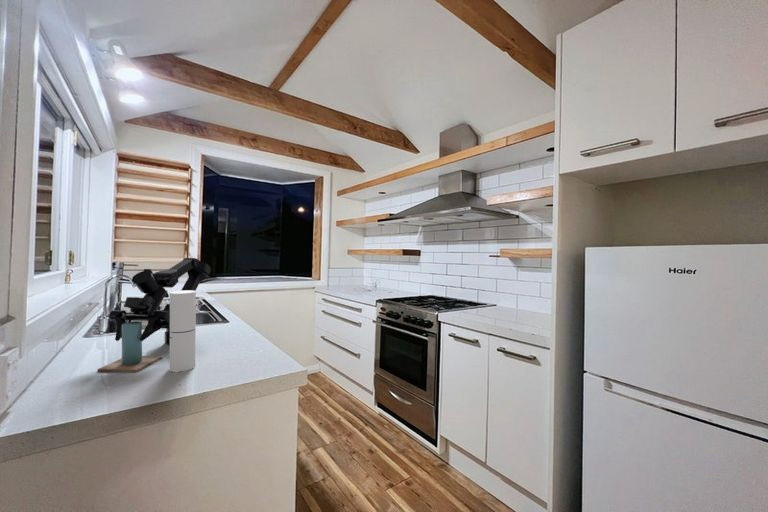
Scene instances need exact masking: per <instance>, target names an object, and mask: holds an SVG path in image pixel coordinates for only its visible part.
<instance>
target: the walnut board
mask: <svg viewBox="0 0 768 512" xmlns="http://www.w3.org/2000/svg"><path fill="white" fill-rule="evenodd" d="M162 359H163V355H142V361H141V362H140V363H137V364H133V365H122V357H121V358H120V359H117V360H115V361H113V362H111V363H110V362H109V364H106V365H104V366H102V367H99V368H97V373H138V371H139V372H140V371H143V370H144V369H146V368H148V367H150V366H152V365H153V364H154V362H155V363H157V362H159V361H160V360H162ZM158 360H159V361H158ZM156 361H157V362H156ZM147 366H148V367H147Z"/></svg>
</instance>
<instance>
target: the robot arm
mask: <svg viewBox="0 0 768 512" xmlns="http://www.w3.org/2000/svg"><path fill="white" fill-rule="evenodd" d="M211 270H212V268H211V266H210V265H209V264H208V263H206V262H204V261H202V260H199V258H196V257H185V258H184V257H183V259H182V260H181V261H180V262H178V263H177V264H175V265H173V266H171V267H170V268H168V269H164V270H159V271H156V272H153V271H152V269H150V268H144V269H143V270H142V271H140V272H138V273H136V274H135V275H133V276H132V278H131V282H132V283H133V284H134V285H135V286H136V288H137V289H138V290H139V291H140V292H141V293H142V294H144V296H143V297H140V296H139V297H137V296H134V297H133V296H127V297H126V299H125V302H124V304H123V307H124V308H128V309H129V311H130V312H131V314H129V313H128V312H127V311H126V310H124V309H123V310H120V309H117V310H116V309H114V310H111V311H110V312H109V314H108V315H107V317H108V319H110V320H111V321H112V322H113V323H114V324H115V325H116V331H115V336H114V337H115V339H114V340H115V341H116V342H118V341H120V340H122V324H124V323H128V322H132V321H138V322H142V321H144V322H145V321H147V324H146V326H145V328H144V330H142V335H141V337H140V341H142V342H144V341H145V340H146V339H147V338H149V337H151V336H152V335H153V334H154V333H156V332H157V331H160V330H161V329H166V330H165V332H164V343H165V344H167V345H168V346H170V303H167V304H166V305H165V306H164V307H163V310H161V309H162V308H161V304H162V302H163V300H164V298H165V299H166V298H167V299H168V298H170V293H168V290H166V289H165V288H170V289H171V288H174V287H175V286H176V285H177V284H178V283H179V279H180V277H182V276H183V275H185V274H186V273H187V280H186V281H185V283H184V284H183V286H182V287H181V290H180V291H183V290H192V291H196V290H197V289H198V286H199V285H200V283H201V282H204V280H206V279H207V278H208V277H209V275H210V273H211V272H212V271H211ZM196 292H197V291H196ZM132 313H133V314H132Z"/></svg>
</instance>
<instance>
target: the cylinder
mask: <svg viewBox="0 0 768 512" xmlns="http://www.w3.org/2000/svg"><path fill="white" fill-rule="evenodd" d="M142 323H143V322H142V321H131V322H128V323H124V324H122V338H121V358H122V365H133V364H137V363H140V362H141V361H142V356H143V349H142V348H143V343H142V342H143V341H140V337H141V335H142V333H143V324H142Z"/></svg>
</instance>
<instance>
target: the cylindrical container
mask: <svg viewBox="0 0 768 512" xmlns="http://www.w3.org/2000/svg"><path fill="white" fill-rule="evenodd" d="M196 294H197V291H192V290H183V291H181V290H174V291H170V292H169V304H170V345H169V371H170V372H171V371H173V373H180V371H183V372H187V371H186V370H188V371H190V370H189V369H191V370H192V368H193V369H195V367H196V337H197V335H196V332H197V330H196V328H197V327H196V319H197V318H196V315H197V314H196V311H197V310H196V309H197V307H196V305H197V304H196V297H197V295H196Z"/></svg>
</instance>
